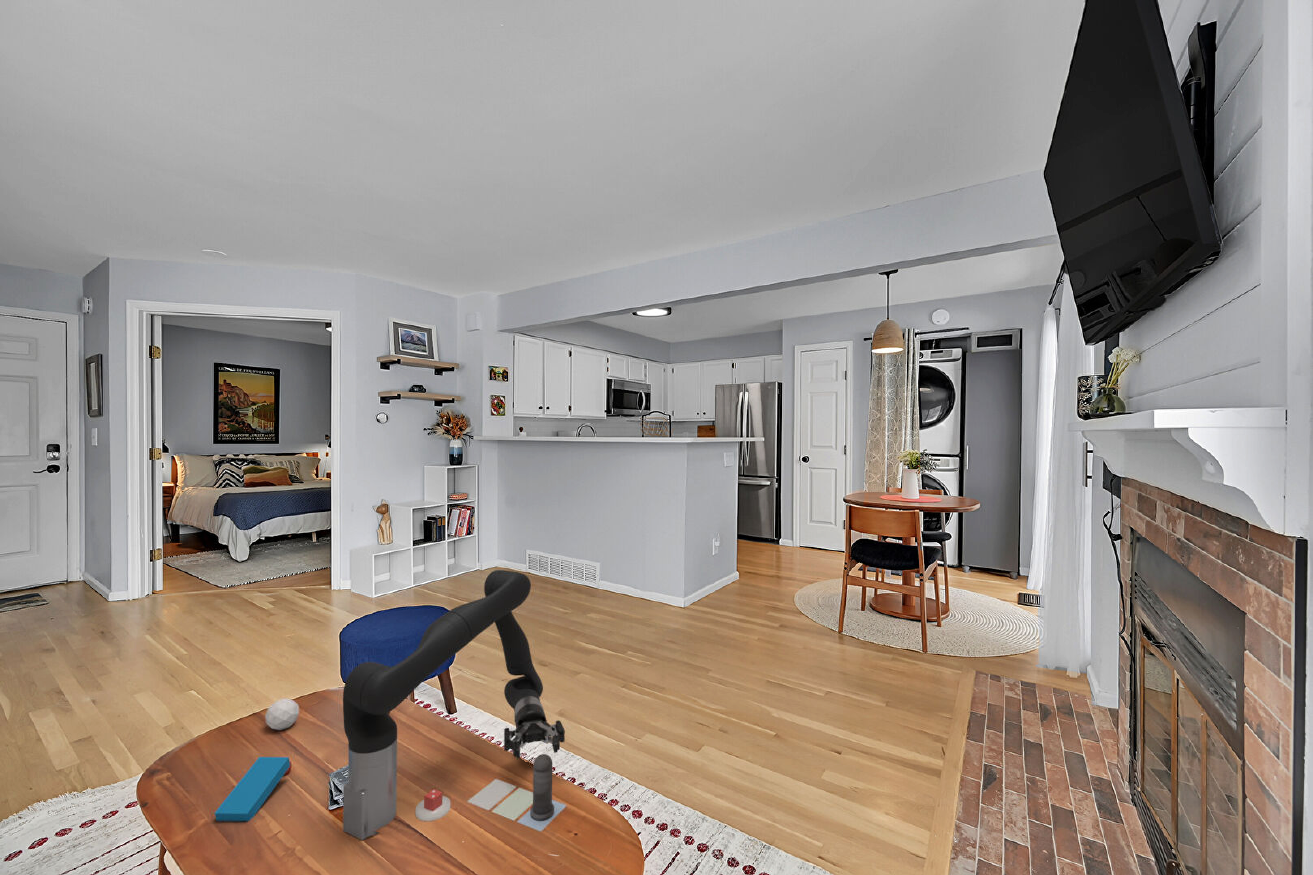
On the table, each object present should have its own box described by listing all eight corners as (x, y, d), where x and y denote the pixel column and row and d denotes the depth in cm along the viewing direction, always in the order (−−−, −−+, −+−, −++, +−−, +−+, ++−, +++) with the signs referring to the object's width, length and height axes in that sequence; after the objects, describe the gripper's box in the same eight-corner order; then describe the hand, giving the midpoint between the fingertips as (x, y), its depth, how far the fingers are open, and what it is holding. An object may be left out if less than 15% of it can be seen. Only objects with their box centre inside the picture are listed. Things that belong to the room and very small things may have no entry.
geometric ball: (282, 740, 156) (274, 726, 151) (264, 724, 158) (254, 710, 153) (308, 717, 161) (301, 703, 156) (290, 702, 164) (282, 687, 159)
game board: (539, 840, 116) (539, 834, 116) (462, 808, 125) (462, 803, 125) (570, 808, 126) (570, 803, 126) (497, 781, 135) (497, 776, 135)
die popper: (431, 830, 118) (432, 807, 118) (408, 819, 121) (408, 797, 121) (457, 810, 125) (457, 788, 125) (434, 800, 128) (434, 779, 128)
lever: (253, 838, 122) (303, 767, 139) (247, 813, 120) (298, 744, 137) (221, 838, 122) (274, 767, 139) (214, 813, 120) (269, 744, 137)
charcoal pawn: (544, 823, 119) (545, 764, 119) (525, 816, 121) (526, 758, 121) (558, 809, 124) (559, 752, 123) (540, 802, 126) (541, 746, 126)
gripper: (501, 706, 145) (505, 740, 129) (557, 699, 149) (568, 730, 134) (501, 736, 145) (505, 773, 129) (557, 727, 149) (568, 762, 134)
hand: (537, 751), depth 132 cm, fingers open, 8 cm apart
